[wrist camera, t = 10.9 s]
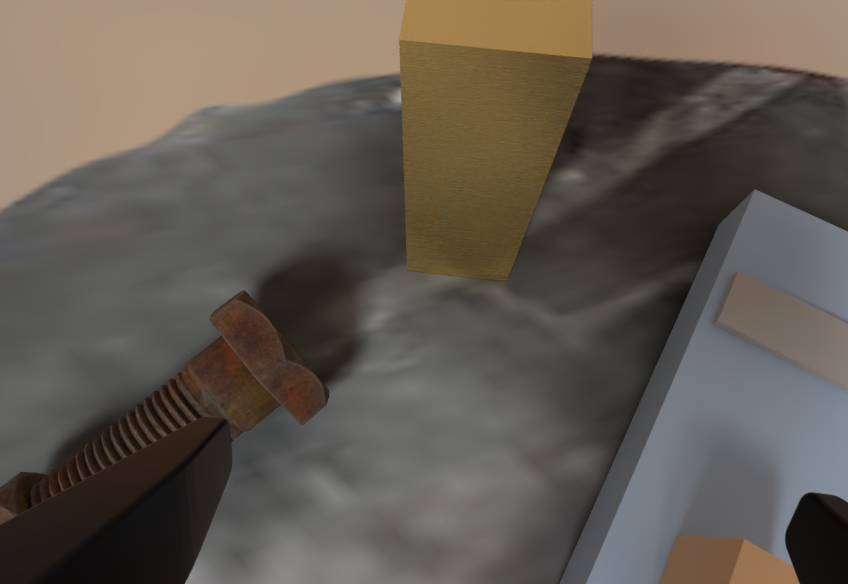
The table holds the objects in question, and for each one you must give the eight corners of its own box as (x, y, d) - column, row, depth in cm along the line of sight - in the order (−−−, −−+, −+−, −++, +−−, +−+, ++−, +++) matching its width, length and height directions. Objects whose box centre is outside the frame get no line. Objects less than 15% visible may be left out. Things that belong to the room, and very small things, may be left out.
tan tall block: (506, 281, 25) (592, 58, 13) (407, 270, 25) (399, 39, 13) (510, 214, 26) (591, -45, 14) (416, 204, 26) (417, -62, 14)
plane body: (739, 717, 19) (908, 820, 12) (552, 597, 20) (618, 634, 14) (868, 295, 25) (1028, 216, 18) (718, 224, 26) (818, 126, 20)
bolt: (-10, 602, 22) (298, 352, 25) (-7, 729, 18) (352, 417, 21) (-169, 552, 18) (222, 263, 21) (-205, 702, 14) (273, 324, 18)
